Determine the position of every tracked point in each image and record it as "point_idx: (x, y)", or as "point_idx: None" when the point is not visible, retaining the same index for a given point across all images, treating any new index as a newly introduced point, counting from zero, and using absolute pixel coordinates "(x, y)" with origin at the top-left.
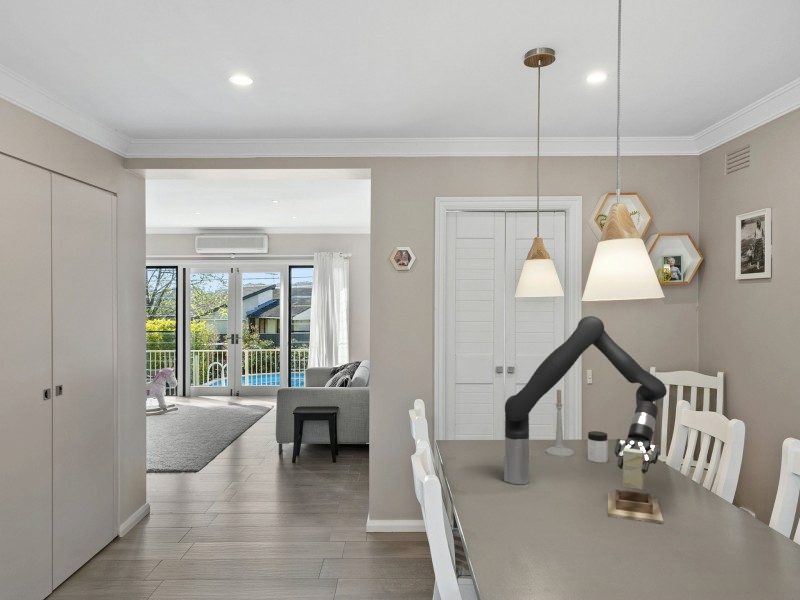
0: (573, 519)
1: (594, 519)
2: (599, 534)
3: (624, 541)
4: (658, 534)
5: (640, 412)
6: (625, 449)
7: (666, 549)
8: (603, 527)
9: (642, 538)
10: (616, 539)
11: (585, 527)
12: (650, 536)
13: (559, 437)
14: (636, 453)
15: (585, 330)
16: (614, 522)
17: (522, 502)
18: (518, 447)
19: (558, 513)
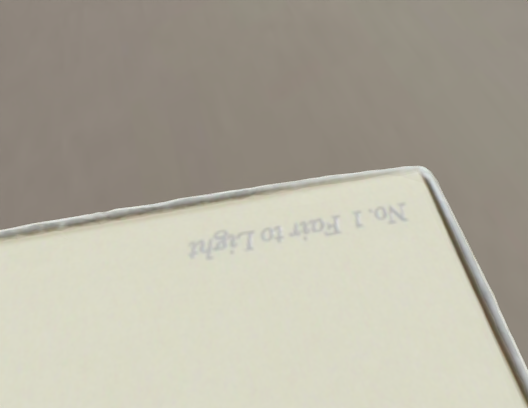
0: (426, 103)
1: (355, 152)
2: (275, 37)
3: (176, 32)
4: (49, 157)
5: None
6: (455, 366)
7: (18, 48)
8: (286, 97)
9: (115, 86)
10: (206, 32)
11: (345, 62)
12: (84, 119)
13: None
14: (59, 230)
15: None
16: (264, 172)
17: None
18: None
19: (514, 125)
